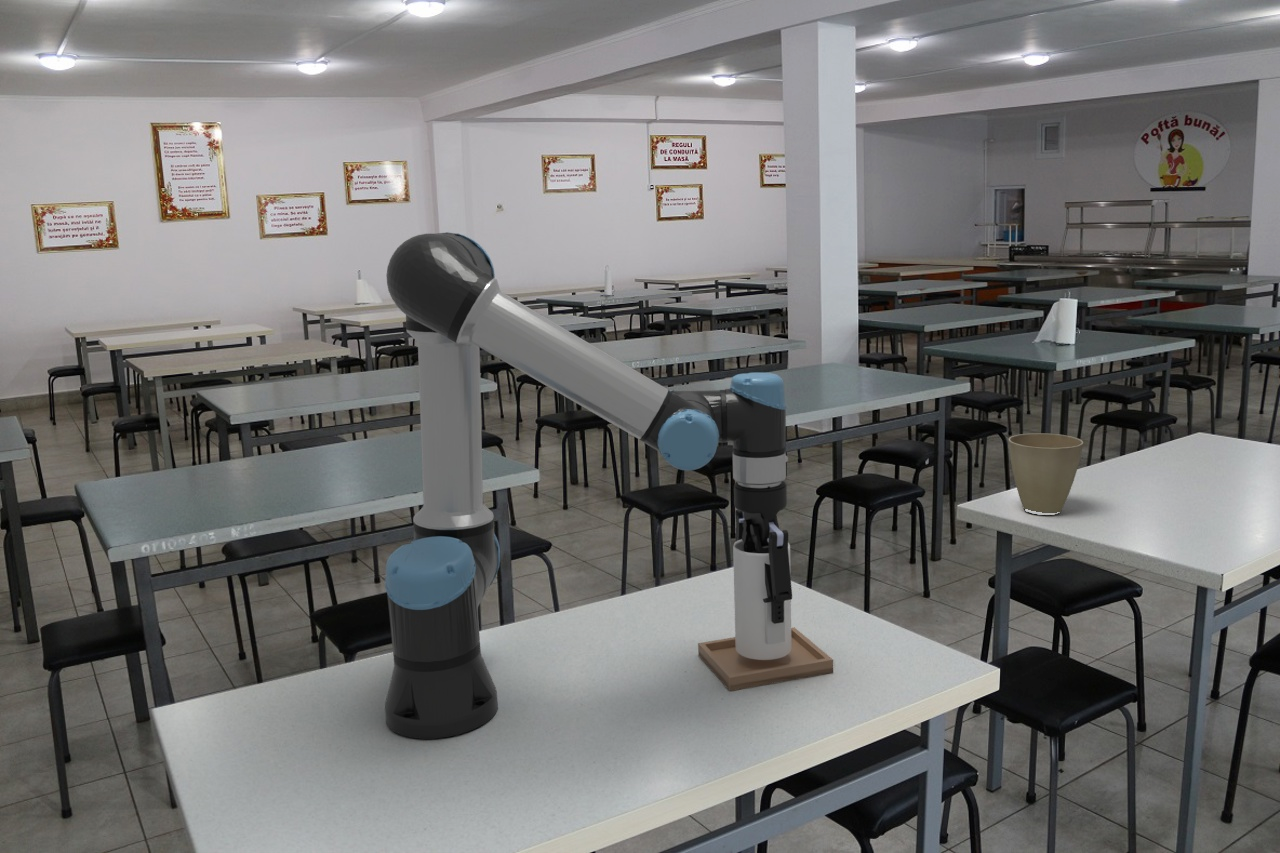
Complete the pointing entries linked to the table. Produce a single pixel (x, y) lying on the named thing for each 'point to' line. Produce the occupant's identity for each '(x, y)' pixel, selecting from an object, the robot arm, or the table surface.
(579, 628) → the table surface
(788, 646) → the cup
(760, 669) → the tray
